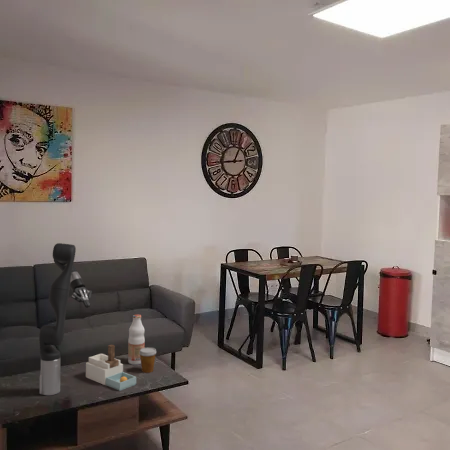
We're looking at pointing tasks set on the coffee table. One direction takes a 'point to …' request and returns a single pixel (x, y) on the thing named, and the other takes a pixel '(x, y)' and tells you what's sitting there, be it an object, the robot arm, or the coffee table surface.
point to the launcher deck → (101, 368)
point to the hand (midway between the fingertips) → (88, 306)
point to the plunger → (112, 356)
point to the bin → (116, 384)
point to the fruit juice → (136, 340)
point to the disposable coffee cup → (147, 359)
